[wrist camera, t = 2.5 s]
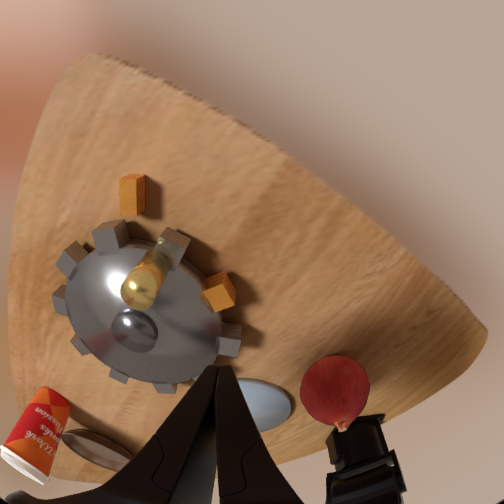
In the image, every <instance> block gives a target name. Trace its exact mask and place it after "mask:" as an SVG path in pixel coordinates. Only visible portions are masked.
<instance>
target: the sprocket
mask: <svg viewBox="0 0 504 504" xmlns="http://www.w3.org/2000/svg"><path fill="white" fill-rule="evenodd" d="M92 235H93V239H94V242H95V245H96V248H95V249H94V250H92V251H91V252H90V253H88V252H87V251H86V250H85V249H84V248H83V247H82V246H81V245H80V244H79V243H78V242H77V241H75V242H74V243H72V244H71V245H70V246H69V247H67V248H66V249H65V250H64V251H63V253H62V254H61V256H60V258H59V260H58V261H57V263H56V266H57V267H58V268H59V269H60V270H61V271H62V272H63V274H64V275H65V276H66V277H67V278H68V281H67V284H66V285H63V284H62V285H61V286H60V287H59V288H58V289H57V290H56V291H55V292H54V293H53V294H52V299H53V304H54V309H55V313H58V314H61V315H64V316H67V317H69V320H70V323H71V325H72V327H73V329H74V331H75V332H76V333H75V335H74V336H73V338H72V339H71V341H70V342H71V343H72V344H73V345H74V347H75V348H76V349H77V350H78V351H79V352H80V354H81V355H82V356H83V355H86V354H90V353H92V354H93V355H94V356H95V357H97V358H98V359H99V360H100V361H102V362H103V363H104V364H105V365H107V366H109V367H110V368H111V370H110V374H109V377H111V378H113V379H115V380H117V381H119V382H122V383H124V384H126V383H127V380H128V378H129V377H130V378H133V379H136V380H139V381H144V382H148V383H152V384H153V385H154V387H155V389H156V391H157V393H169V394H176V389H177V385H178V383H180V382H184V381H188V380H191V379H193V380H194V381H196V380H197V378H198V377H199V376H200V374H201V373H202V372H203V370H204V369H205V368H206V366H208V365H219V366H220V365H221V364H220V363H218V362H217V361H216V360H215V359H216V357H217V355H218V354H219V355H225V356H232V357H237V355H238V351H239V347H240V343H241V333H242V325H237V324H231V323H225V322H223V314H222V310H223V309H226V308H229V307H231V306H234V305H235V297H236V290H235V288H234V286H233V285H232V283H231V281H230V279H229V278H228V276H227V274H226V272H225V271H222V272H220V273H217V274H215V275H212V276H210V277H207V278H206V277H205V276H204V275H203V274H202V273H201V272H200V271H199V270H198V269H197V268H196V267H195V266H194V265H193V264H192V263H191V262H189V261H188V260H187V259H185V258H184V257H183V255H184V252H185V250H186V248H187V246H188V244H189V242H190V240H191V239H190V238H188V237H186V236H184V235H182V234H181V233H179V232H177V231H175V230H173V229H171V228H169V227H167V228H166V229H165V230H164V232H163V233H162V234H161V235H160V237H159V239H158V241H157V244H156V243H153V242H149V241H145V240H139V239H129V235H128V231H127V227H126V223H125V219H121V220H115V221H110V222H104V223H102V224H101V225H100V226H98V227H97V228H96V229H94V230H93V231H92Z"/></svg>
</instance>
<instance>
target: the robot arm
mask: <svg viewBox="0 0 504 504" xmlns="http://www.w3.org/2000/svg"><path fill="white" fill-rule="evenodd" d="M384 418H385V417H384V415H383V414H381V415H374V416H367V417H358V418H356V419H355V420H354V421H353V422H352V423H351V424H350V425H349V427H348V429H347V430H345V431H342V432H339V431H338V428H337V427H336V426H335V428H334V429H333V431H332V432H331V434H330V435H329V437H328V438H327V440H326V445H327V447H328V452H329V457H330V463H331V464H332V465H335V469H336V472H333V473H327V478H326V491H327V492H326V493H327V496H326V503H325V504H404V501H403V497H402V494H401V493H403V492H406V491H407V489H406V485H405V482H404V478H403V475H402V471H401V468H400V465H399V462H398V459H397V456H396V453H395V451H394V449H393V450H391V451H390V452H389V450H388V447H387V444H386V441H385V438H384V435H383V432H382V429H381V426H380V423H381V422H382V421H383V419H384ZM393 464H394V466H390V465H393ZM216 467H217V470H218V486H219V497H220V504H304V503H303V502H302V500H301V499H300V498H299V497H298V495H297V494H296V493H295V491H294V490H293V489H292V488H291V486H290V485H289V483H288V482H287V480H286V479H285V478H284V476H283V475H282V473H281V472H280V471H279V469H278V468H277V466H276V464H275V463H274V461H273V460H272V458H271V456H270V454H269V452H268V450H267V448H266V446H265V444H264V442H263V439H262V438H261V435H260V433H259V431H258V428H257V426H256V424H255V421H254V419H253V417H252V414H251V412H250V410H249V407H248V405H247V402H246V400H245V398H244V395H243V393H242V390H241V388H240V385H239V383H238V380H237V378H236V375H235V373H234V370H233V368H232V366H231V365H220V366H219V365H208V366H206V368H205V369H204V370H203V372H202V373H201V374H200V376H199V377H198V378H197V380H196V381H195V382H194V384H193V385H192V386H191V387H190V389H189V390H188V391H187V393H186V394H185V395H184V397H183V398H182V399H181V401H180V402H179V403H178V404H177V406H176V407H175V408H174V410H173V411H172V412H171V413H170V415H169V416H168V417H167V419H166V420H165V421H164V422H163V424H162V425H161V426H160V427H159V429H158V430H157V431H156V434H154V435H153V436H152V437H151V439H150V440H149V441H148V442H147V443H146V445H145V446H144V447H143V448H142V449H141V450H140V451H139V452H138V453H137V454H136V455H135V456H134V457H133V458H132V459H131V460H130V461H129V462H128V463H127V464H126V465H125V466H124V467H123V468H122V469H121V470H120V471H119V472H117V473H116V474H115V475H114V476H113V477H112V478H111V479H110V480H108V481H107V482H106V483H105V484H103V485H102V486H100V487H98V488H95V489H93V490H89V491H86V492H82V493H78V494H74V495H69V496H65V497H61V498H55V499H48V500H44V499H37V498H35V497H33V496H31V495H29V494H27V493H26V492H24V491H22V490H20V491H17V492H14V493H11V494H9V495H8V496H7V497H6V498H5V500H6V501H5V500H4V499H2V498H1V497H0V504H211V501H212V493H213V487H214V480H215V474H216ZM496 504H504V499H503V500H501V501H500V502H498V503H496Z"/></svg>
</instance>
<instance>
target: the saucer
mask: <svg viewBox="0 0 504 504" xmlns="http://www.w3.org/2000/svg"><path fill="white" fill-rule="evenodd" d="M61 440H62V441H63V442H64V444H65V445H66V446H67V447H68V448H70V449H71V450H72V451H73V452H75V453H76V454H78V455H79V456H81V457H82V458H84V459H86V460H88V461H90V462H92V463H94V464H96V465H98V466H101V467H103V468H106V469H109V470H112V471H115V472H119V471H120V470H121V469H122V468H123V467H124V466H125V465H126V464H127V463H128V462H129V461H130V460H131V459H132V458H133V457H132V456H131V454H130V453H129V452H128V451H127V450H126V449H124V448H123V447H122V446H120V445H119V444H117V443H115V442H113V441H112V440H110V439H108V438H106V437H103V436H101V435H99V434H96V433H93V432H90V431H87V430H81V429H77V430H70V431H67V432H64V433H62V436H61Z"/></svg>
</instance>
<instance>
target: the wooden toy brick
mask: <svg viewBox="0 0 504 504" xmlns="http://www.w3.org/2000/svg"><path fill="white" fill-rule="evenodd" d="M119 196H120V215H124V216H138V215H139V214H140V213H141V212H143V211H144V210H145V175H133V174H129V175H127V176H124V177H122V178H120V179H119Z"/></svg>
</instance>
